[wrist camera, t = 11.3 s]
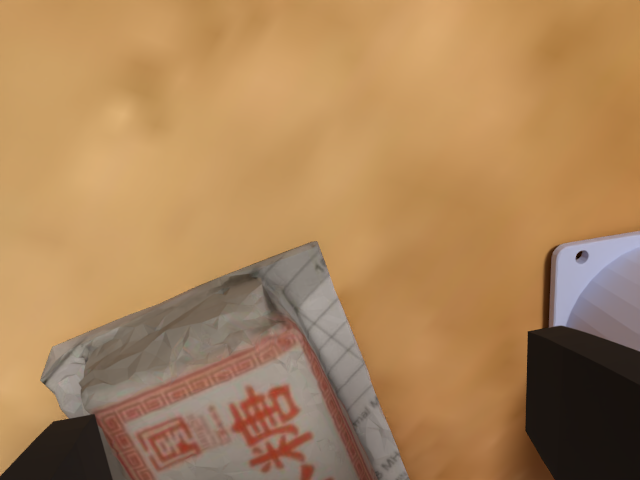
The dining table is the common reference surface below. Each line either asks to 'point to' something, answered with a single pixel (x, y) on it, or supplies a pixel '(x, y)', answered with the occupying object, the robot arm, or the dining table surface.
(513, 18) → the dining table surface
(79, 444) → the robot arm
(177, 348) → the packaged product
